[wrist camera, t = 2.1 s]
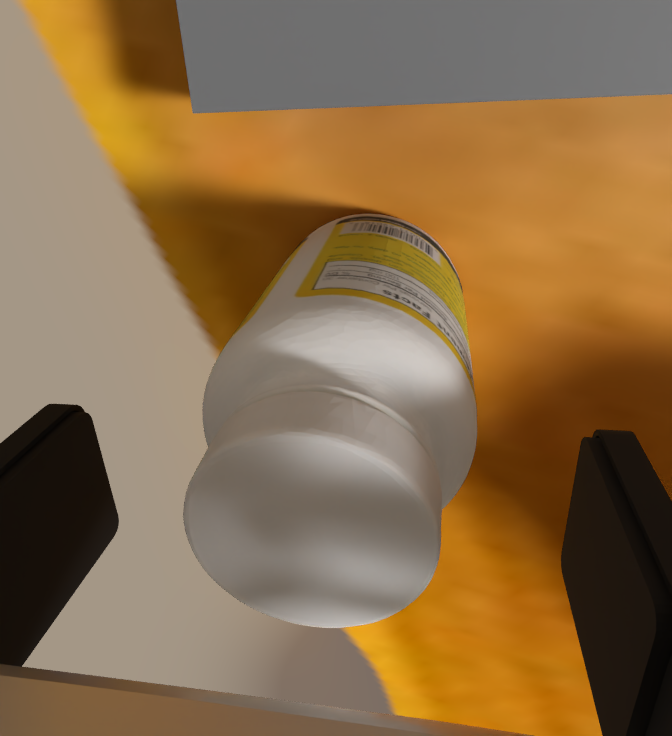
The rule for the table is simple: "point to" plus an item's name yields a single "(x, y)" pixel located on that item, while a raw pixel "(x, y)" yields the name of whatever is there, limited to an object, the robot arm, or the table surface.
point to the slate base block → (420, 51)
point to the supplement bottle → (337, 429)
